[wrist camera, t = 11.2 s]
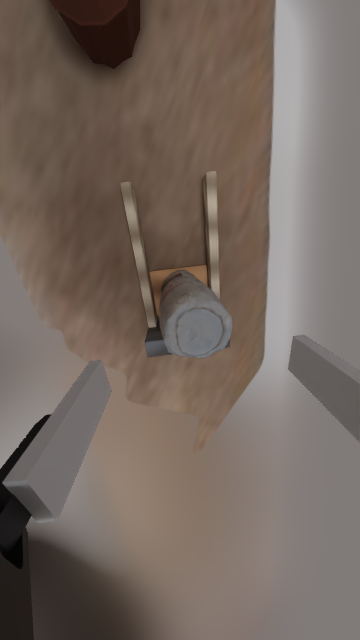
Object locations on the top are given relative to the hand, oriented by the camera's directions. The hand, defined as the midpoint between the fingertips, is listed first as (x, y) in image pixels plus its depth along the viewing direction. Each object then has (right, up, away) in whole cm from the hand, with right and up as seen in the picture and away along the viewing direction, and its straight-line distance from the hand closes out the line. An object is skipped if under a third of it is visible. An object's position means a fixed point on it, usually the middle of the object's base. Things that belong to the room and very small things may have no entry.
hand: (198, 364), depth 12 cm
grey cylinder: (-1, +9, +23) cm, 25 cm away
